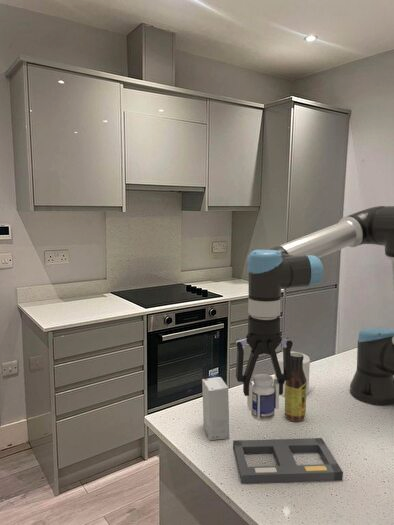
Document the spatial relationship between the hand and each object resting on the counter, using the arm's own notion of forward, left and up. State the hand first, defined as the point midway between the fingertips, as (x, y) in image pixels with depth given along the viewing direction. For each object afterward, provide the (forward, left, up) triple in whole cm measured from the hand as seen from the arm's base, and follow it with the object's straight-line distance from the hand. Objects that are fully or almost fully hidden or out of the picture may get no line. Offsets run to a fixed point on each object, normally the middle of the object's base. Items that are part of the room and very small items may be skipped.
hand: (262, 406), depth 99 cm
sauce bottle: (-15, -22, -15) cm, 31 cm away
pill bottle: (0, 0, -3) cm, 3 cm away
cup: (-19, -40, -16) cm, 47 cm away
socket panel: (-6, 0, -15) cm, 16 cm away
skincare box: (+10, -15, -15) cm, 24 cm away
